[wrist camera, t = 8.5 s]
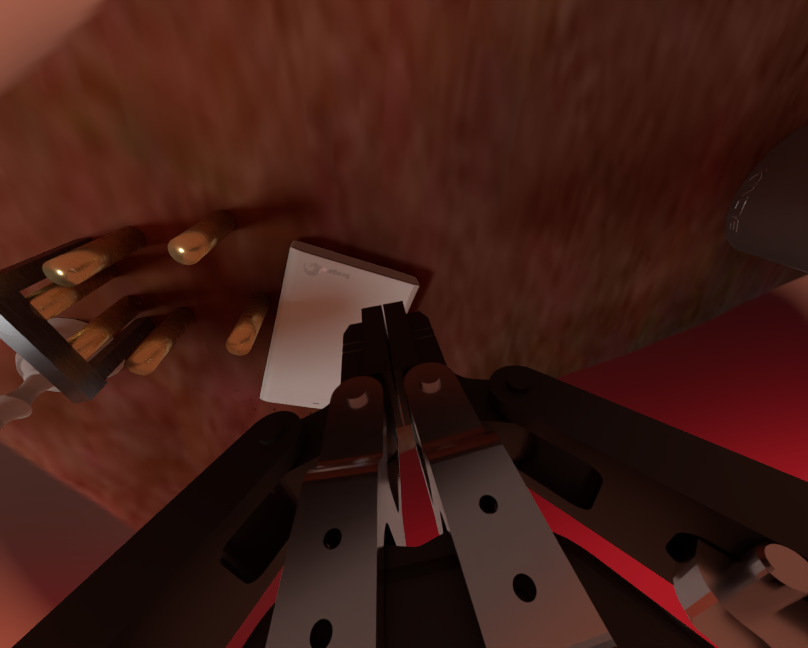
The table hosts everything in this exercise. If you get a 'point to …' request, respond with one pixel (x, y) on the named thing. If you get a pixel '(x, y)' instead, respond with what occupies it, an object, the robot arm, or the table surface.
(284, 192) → the table surface
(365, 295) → the external hard drive
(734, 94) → the table surface
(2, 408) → the chalice
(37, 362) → the candles
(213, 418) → the table surface
